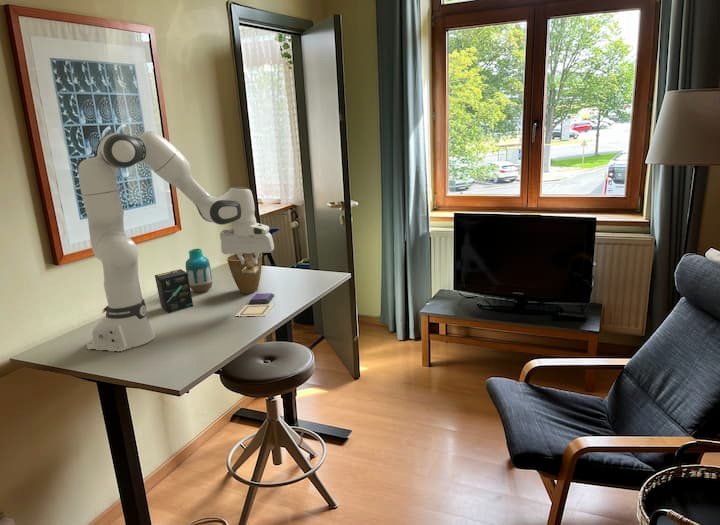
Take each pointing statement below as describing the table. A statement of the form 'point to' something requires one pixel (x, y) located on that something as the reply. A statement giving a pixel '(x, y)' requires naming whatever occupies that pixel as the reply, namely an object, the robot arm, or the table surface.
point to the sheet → (255, 310)
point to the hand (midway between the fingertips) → (249, 263)
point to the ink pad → (261, 298)
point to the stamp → (249, 265)
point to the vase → (198, 271)
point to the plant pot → (244, 281)
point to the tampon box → (174, 290)
